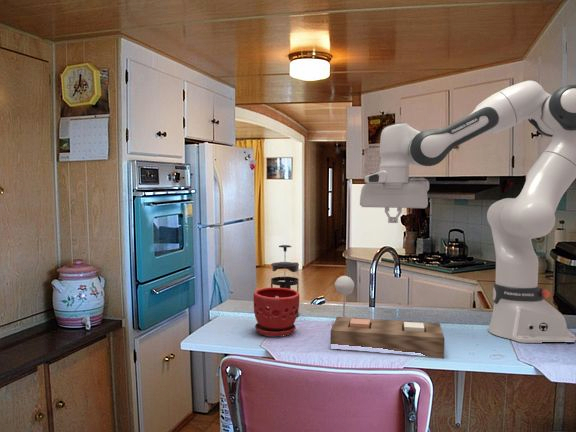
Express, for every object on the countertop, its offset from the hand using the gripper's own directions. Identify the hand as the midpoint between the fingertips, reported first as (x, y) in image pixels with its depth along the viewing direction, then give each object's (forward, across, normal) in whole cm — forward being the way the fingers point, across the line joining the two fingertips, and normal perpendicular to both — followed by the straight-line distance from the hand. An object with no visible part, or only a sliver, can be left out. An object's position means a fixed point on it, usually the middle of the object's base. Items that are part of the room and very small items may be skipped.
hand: (392, 222), depth 151 cm
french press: (+31, +34, -2) cm, 46 cm away
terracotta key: (+29, +8, +22) cm, 37 cm away
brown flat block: (+31, +1, +22) cm, 38 cm away
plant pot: (+31, +32, +18) cm, 48 cm away
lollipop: (+31, +14, +5) cm, 35 cm away
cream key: (+29, -6, +22) cm, 37 cm away
